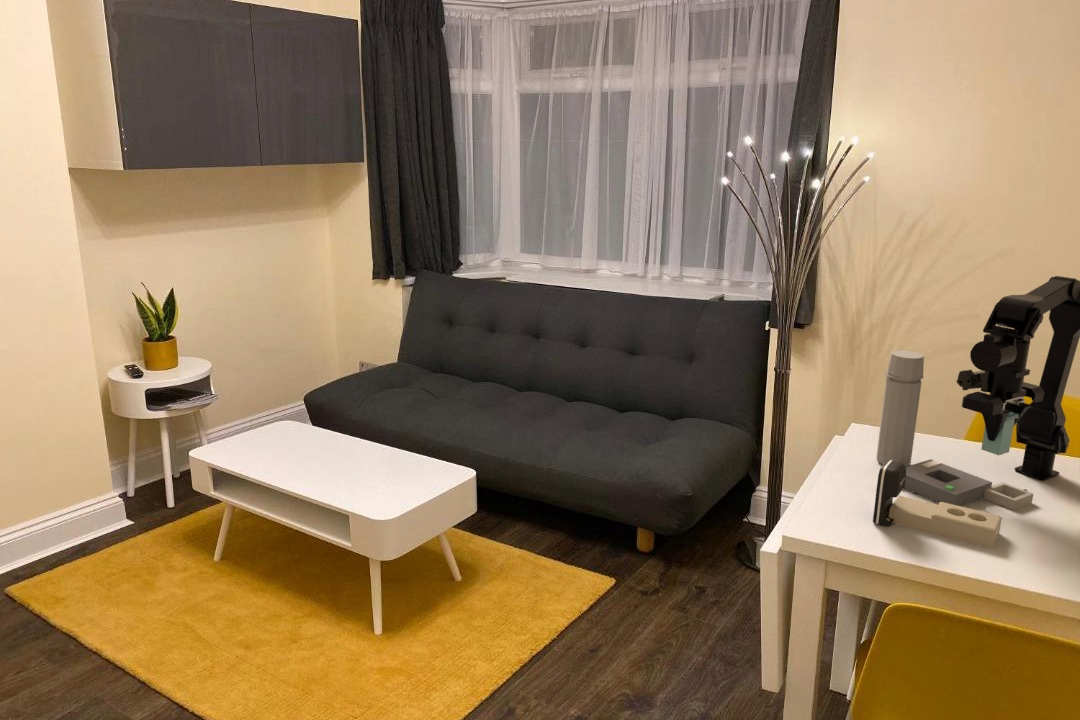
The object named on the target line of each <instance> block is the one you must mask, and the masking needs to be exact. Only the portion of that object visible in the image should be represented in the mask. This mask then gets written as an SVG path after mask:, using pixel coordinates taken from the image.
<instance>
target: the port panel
mask: <svg viewBox="0 0 1080 720" xmlns="http://www.w3.org/2000/svg"><path fill="white" fill-rule="evenodd" d="M992 486H993V482H992V481H990V480H987V479H984V478H982V477H979V476H977V475H974V474H971V473H970V472H969V473H968V472H966V471H963V470H961V469H957V468H955V467H952V466H950V465H946V464H944V463H942V462H941V461H938V460H934V459H932V458H930V459H927V460H923V461H920V462H917V463H913V464H911V465H910V464H909V465H908V466H906V481H905V487H904V488H905V489H904V488H903V489H904V490H907V489H908V490H907V491H909V492H912V493H915V494H916V493H917V494H916V495H919V496H922V497H923V498H926V499H929V500H930V501H933V502H936V503H937V504H939V502H945V503H949V504H953V505H957V506H961V507H964V506H965V505H968V504H971V503H975V502H978V501H979V500H983V499H984V492H985V489H987V488H990V487H992Z"/></svg>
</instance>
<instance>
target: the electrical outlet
mask: <svg viewBox="0 0 1080 720" xmlns="http://www.w3.org/2000/svg"><path fill="white" fill-rule="evenodd" d="M889 515H890V516H891V517H892V519H894V521H893V522H892V524H895V525H898V526H899V525H900V526H904V527H907V528H911V529H914V530H919V531H923V532H927V533H930V534H934V535H939V536H941V537H945V538H951V539H953V540H957V541H962V542H966V543H969V544H973V545H978V546H982V547H985V548H989V549H994V547H995V544H996V543H997V540H998V539H999V538H998V537H999V535H1000V529H1001V524H1002V521H1003V520H1002V519H1003V518H1002V516H1001V515H999V514H995V513H990V512H986V511H982V510H978V509H974V508H969V507H966V506H957V505H953V504H949V503H945V502H939V503H937V504H936V503H931V502H928V501H923V500H920V499H915V498H911V497H908V496H903V495H898V496H897V497H896V499H895V500H894V502H893V505H892V506H891V507H890V511H889ZM889 518H890V517H889Z"/></svg>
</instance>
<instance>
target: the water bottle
mask: <svg viewBox="0 0 1080 720" xmlns="http://www.w3.org/2000/svg"><path fill="white" fill-rule="evenodd" d="M924 358H925V356H924V355H923V354H922V353H920V352H918V351H912V350H893V351H891V353H890V356H889V360H888V365H887V368H886V369H887V370H886V372H884V373H883V375H884V376H885V386H884V391H883V392H884V393H883V399H882V400H883V402H882V409H881V416H880V417H881V418H880V424H879V432H878V433H879V434H878V441H877V450H876V455H875V457H876V460H877V462H878V463H879V464H881V465H883V464H884V463H885V462H886V461H887V460H893V461H896V462H900V463H903V464H904V465H905V466H906V467H907V466H910V464H911V463H912V456H913V448H914V440H915V433H916V427H917V426H916V425H917V419H918V412H919V411H918V410H919V403H920V397H921V389H922V379H924V367H925V366H924V364H925V363H924V360H925V359H924Z"/></svg>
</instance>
